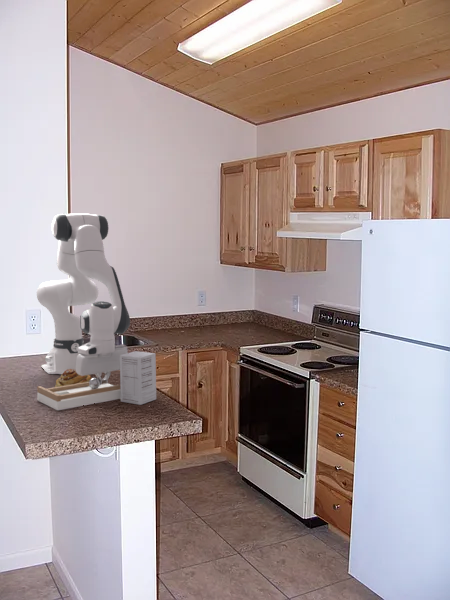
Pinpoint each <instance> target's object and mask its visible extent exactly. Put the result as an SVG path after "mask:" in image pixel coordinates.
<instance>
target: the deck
mask: <svg viewBox="0 0 450 600" xmlns="http://www.w3.org/2000/svg"><path fill="white" fill-rule="evenodd" d="M36 390H37V391H36V392H37V393H36V395H37V401H38V402H40V403H42V404H43V405H46V406H48V407H50V408H52V409H54V410H55V411H61V410H68V409H73V408H77V407H78V408H79V407H84V406H87V405H89V406H90V405H94V403H95V404H100V403H104V402H110V401H115V400H121V390H120V384H118V385H114V384H110V383H108V384H103V385H100V386H99V387H98V388H96V389H92V388H91V387H90V386H89V382H84V383H78V384H72V385H66V386H60V387H55V386H54V387H49V388H45V387H43V386H41V385H39V386H37V387H36ZM83 405H84V406H83Z"/></svg>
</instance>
